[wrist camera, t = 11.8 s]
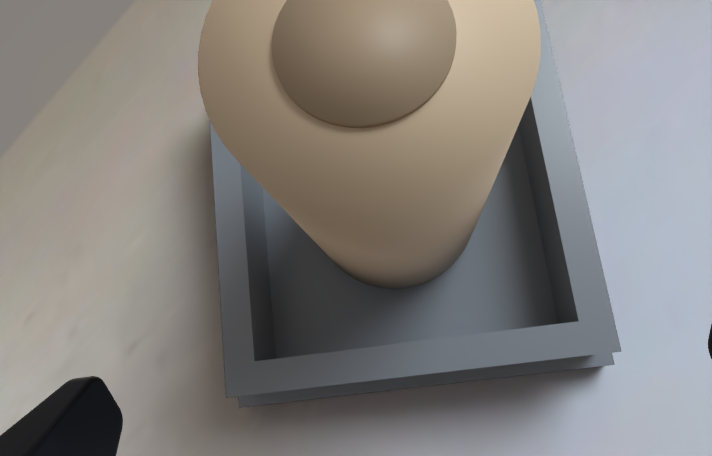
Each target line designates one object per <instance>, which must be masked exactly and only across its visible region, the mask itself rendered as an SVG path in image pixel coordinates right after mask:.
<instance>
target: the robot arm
mask: <svg viewBox="0 0 712 456" xmlns="http://www.w3.org/2000/svg"><path fill="white" fill-rule="evenodd" d="M708 349H709V353H710V356H711V359H712V325H711V329H710V334H709V339H708ZM122 425H123V419H122V413H121V410H120V408H119V406H118V405H117V403H116V401H115V400H114V398H113V396H112V395H111V393H110V391H109V390H108V388H107V387H106V385H105V383H104V382H103V380H102V379H100V378H99V377H95V376H91V377H83V378H75V379H72V380H70V381H68V382H66V383H65V384H64V385H63V386H61V387H60V388H59V389H58V390H56V391H55V392H54V393H53V394H51V395H50V396H49V397H48V398H46V399H45V400H44V401H43V402H42V403H40V404H39V405H38V406H37V407H35V408H34V409H33V410H32V411H30V412H29V413H28V414H27V415H25V416H24V417H23V418H22V419H21V420H19V421H18V422H17V423H16V424H14V425H13V426H12V427H11V428H9V429H8V430H7V431H6V432H4V433H3V434H2V435H1V436H0V456H116V453H117V449H118V444H119V440H120V435H121V431H122Z"/></svg>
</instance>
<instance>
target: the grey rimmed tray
mask: <svg viewBox="0 0 712 456" xmlns="http://www.w3.org/2000/svg"><path fill="white" fill-rule="evenodd" d="M534 3H535V6H536V9H537V13H538V19H539V25H540V31H541V54H540V61H539V68H538V74H537V78H536V81H535V85H534V88H533V91H532V95H531V97H530V99H529V102H528V104H527V106H526V109H525V111H524V113H523V116H522V118H521V120H520V123H519V125H518V127H517V130H516V132H515V134H514V137H513V139H512V142H511V144H510V146H509V149H508V151H507V153H506V156H505V158H504V160H503V163H502V165H501V167H500V170H499V172H498V174H497V177H496V179H495V181H494V184H493V186H492V188H491V191H490V193H489V195H488V198H487V200H486V202H485V205H484V207H483V209H482V212H481V214H480V216H479V219H478V221H477V224H476V226H475V228H474V231H473V233H472V235H471V238H470V240H469V242H468V244H467V246H466V248H465V249H464V251H463V252H462V254H461V256H460V257H459V258H458V259H457V260H456V261H455V263H454V264H453V265H452V266H450V267H449V268H448V269H447V270H446V271H445V272H443V273H442V274H440V275H439V276H437V277H436V278H434V279H432V280H430V281H428V282H425V283H422V284H419V285H417V286H412V287H407V288H396V289H393V288H381V287H376V286H372V285H369V284H366V283H363V282H361V281H359V280H357V279H355V278H353V277H351V276H350V275H348V274H347V273H345V272H344V271H343V270H342V269H341V268H339V267H338V266H337V265H336V264H335V263H334V262H333V261H332V260H331V259H330V258H329V257H328V255H327V254H326V253H325V252H324V251H323V250H322V249H321V248H320V247H319V246H318V245H317V244H316V243H315V242H314V241H313V240H312V239H311V238H310V237H309V235H308V234H307V233H306V232H305V231H304V230H303V229H302V228H301V227H300V226H299V225H298V224H297V223H296V222H295V221H294V220H293V219H292V218H291V217H290V215H289V214H288V213H287V212H286V211H285V210H284V209H283V208H282V207H281V206H280V205H279V204H278V203H277V202H276V201H275V200H274V199H273V198H272V197H271V195H270V194H269V193H268V192H267V191H266V190H265V189H264V188H263V187H262V186H261V185H260V184H259V183H258V182H257V181H256V180H255V179H254V178H253V177H252V175H251V174H250V173H249V172H248V171H247V170H246V169H245V168H244V167H243V166H242V165H241V164H240V163H239V162H238V161H237V159H236V158H235V157H234V156H233V155H232V154H231V153H230V151H229V150H228V149H227V148H226V147H225V145H224V144H223V142H222V141H221V139H220V138H219V136H218V135H217V133H216V131H215V130H214V128H213V125H212V123H211V121H210V132H211V149H212V166H213V184H214V201H215V218H216V235H217V252H218V269H219V286H220V304H221V321H222V338H223V355H224V372H225V389H226V398H228V397H236V396H238V399H239V408H241V407H250V406H258V405H267V404H276V403H284V402H293V401H302V400H311V399H319V398H328V397H337V396H346V395H354V394H363V393H372V392H380V391H389V390H398V389H407V388H415V387H424V386H433V385H441V384H450V383H459V382H468V381H476V380H485V379H494V378H502V377H511V376H520V375H529V374H537V373H546V372H555V371H564V370H572V369H581V368H590V367H598V366H607V365H614V360H613V356H612V352H621V347H620V343H619V339H618V334H617V330H616V326H615V321H614V317H613V313H612V308H611V304H610V299H609V295H608V291H607V286H606V282H605V278H604V273H603V269H602V265H601V260H600V256H599V251H598V247H597V243H596V238H595V234H594V230H593V225H592V221H591V217H590V212H589V208H588V203H587V199H586V195H585V190H584V186H583V182H582V177H581V173H580V168H579V164H578V160H577V155H576V151H575V147H574V142H573V138H572V134H571V129H570V125H569V120H568V116H567V112H566V107H565V103H564V99H563V94H562V90H561V86H560V81H559V77H558V72H557V68H556V64H555V59H554V55H553V51H552V46H551V42H550V38H549V33H548V29H547V24H546V20H545V16H544V11H543V7H542V3H541V0H534Z"/></svg>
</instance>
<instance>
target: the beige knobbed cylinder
mask: <svg viewBox="0 0 712 456" xmlns="http://www.w3.org/2000/svg"><path fill="white" fill-rule="evenodd" d="M540 54H541V31H540V25H539V19H538V13H537V9H536V6H535V3H534V0H213V1H212V3H211V6H210V8H209V10H208V13H207V15H206V18H205V22H204V25H203V29H202V32H201V38H200V45H199V51H198V76H199V84H200V91H201V95H202V99H203V102H204V106H205V109H206V112H207V114H208V117H209V119H210V121H211V123H212V125H213V128H214V130H215V131H216V133H217V135H218V136H219V138H220V139H221V141H222V142H223V144H224V145H225V147H226V148H227V149H228V150H229V151H230V153H231V154H232V155H233V156H234V157H235V158H236V159H237V161H238V162H239V163H240V164H241V165H242V166H243V167H244V168H245V169H246V170H247V171H248V172H249V173H250V174H251V175H252V177H253V178H254V179H255V180H256V181H257V182H258V183H259V184H260V185H261V186H262V187H263V188H264V189H265V190H266V191H267V192H268V193H269V194H270V195H271V197H272V198H273V199H274V200H275V201H276V202H277V203H278V204H279V205H280V206H281V207H282V208H283V209H284V210H285V211H286V212H287V213H288V214H289V215H290V217H291V218H292V219H293V220H294V221H295V222H296V223H297V224H298V225H299V226H300V227H301V228H302V229H303V230H304V231H305V232H306V233H307V234H308V235H309V237H310V238H311V239H312V240H313V241H314V242H315V243H316V244H317V245H318V246H319V247H320V248H321V249H322V250H323V251H324V252H325V253H326V254H327V255H328V257H329V258H330V259H331V260H332V261H333V262H334V263H335V264H336V265H337V266H338V267H339V268H341V269H342V270H343V271H344V272H345V273H347V274H348V275H350V276H351V277H353V278H355V279H357V280H359V281H361V282H363V283H366V284H369V285H372V286H376V287H381V288H393V289H396V288H407V287H412V286H417V285H419V284H422V283H425V282H428V281H430V280H432V279H434V278H436V277H437V276H439V275H440V274H442V273H443V272H445V271H446V270H447V269H448V268H449V267H450V266H452V265H453V264H454V263H455V261H456V260H457V259H458V258H459V257H460V256H461V254H462V252H463V251H464V249H465V248H466V246H467V244H468V242H469V240H470V238H471V235H472V233H473V231H474V228H475V226H476V224H477V221H478V219H479V216H480V214H481V212H482V209H483V207H484V205H485V202H486V200H487V198H488V195H489V193H490V191H491V188H492V186H493V184H494V181H495V179H496V177H497V174H498V172H499V170H500V167H501V165H502V163H503V160H504V158H505V156H506V153H507V151H508V149H509V146H510V144H511V142H512V139H513V137H514V134H515V132H516V130H517V127H518V125H519V123H520V120H521V118H522V116H523V113H524V111H525V109H526V106H527V104H528V102H529V99H530V97H531V95H532V91H533V88H534V85H535V81H536V78H537V74H538V68H539V61H540Z"/></svg>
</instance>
